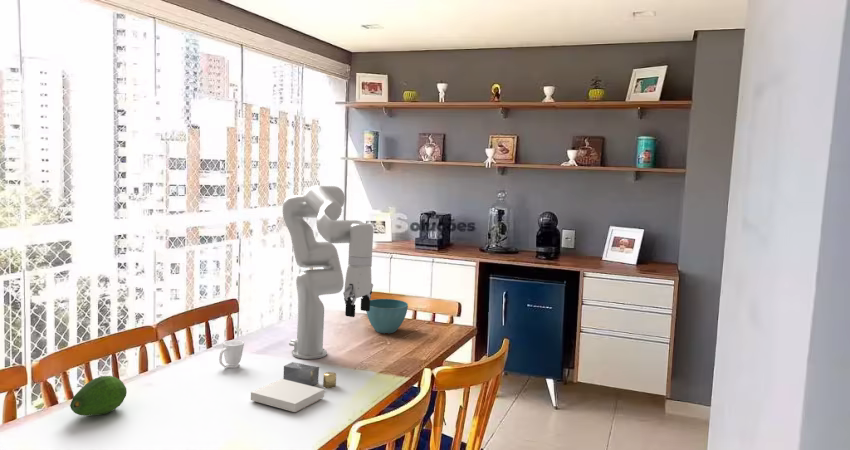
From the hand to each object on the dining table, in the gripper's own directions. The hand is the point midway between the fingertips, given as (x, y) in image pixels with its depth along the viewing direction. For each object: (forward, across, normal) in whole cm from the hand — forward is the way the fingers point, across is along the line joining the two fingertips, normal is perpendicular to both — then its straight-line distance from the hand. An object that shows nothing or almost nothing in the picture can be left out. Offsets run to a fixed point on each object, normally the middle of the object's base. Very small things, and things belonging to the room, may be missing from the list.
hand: (357, 313), depth 201 cm
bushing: (+23, +8, -4) cm, 24 cm away
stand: (+23, +25, -8) cm, 35 cm away
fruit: (+23, +60, -45) cm, 78 cm away
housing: (+23, +11, -14) cm, 29 cm away
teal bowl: (+23, -61, -20) cm, 69 cm away
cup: (+23, +11, -42) cm, 49 cm away
